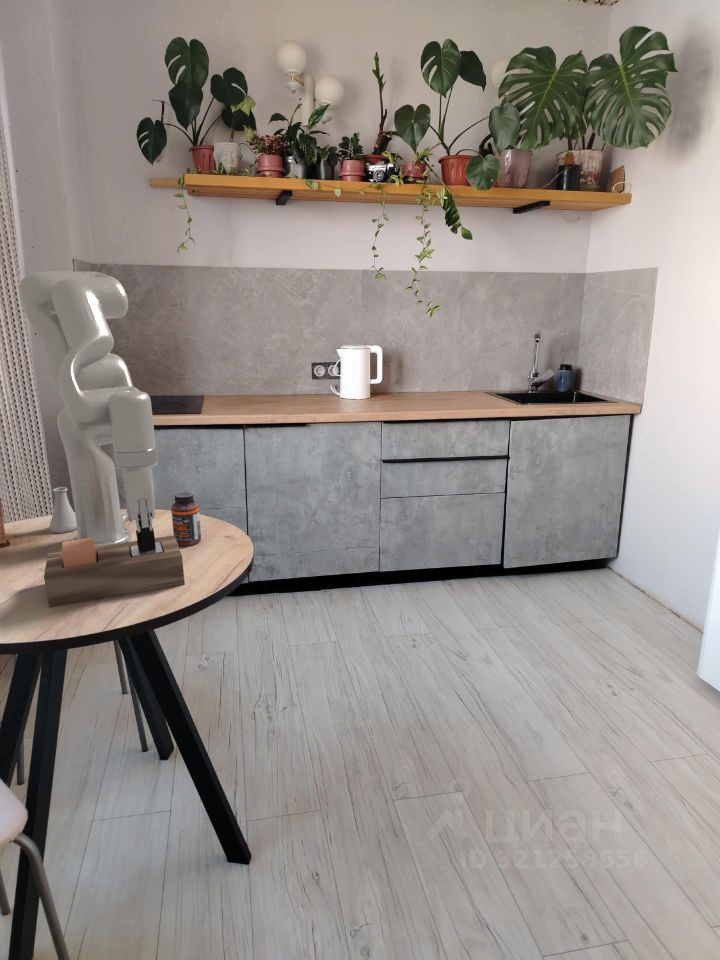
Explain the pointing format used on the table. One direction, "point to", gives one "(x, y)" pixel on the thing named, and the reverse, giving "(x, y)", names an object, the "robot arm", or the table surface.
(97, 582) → the button console
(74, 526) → the flask
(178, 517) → the supplement bottle
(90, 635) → the table surface
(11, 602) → the table surface
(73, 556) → the terracotta button
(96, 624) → the table surface
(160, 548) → the metal button
